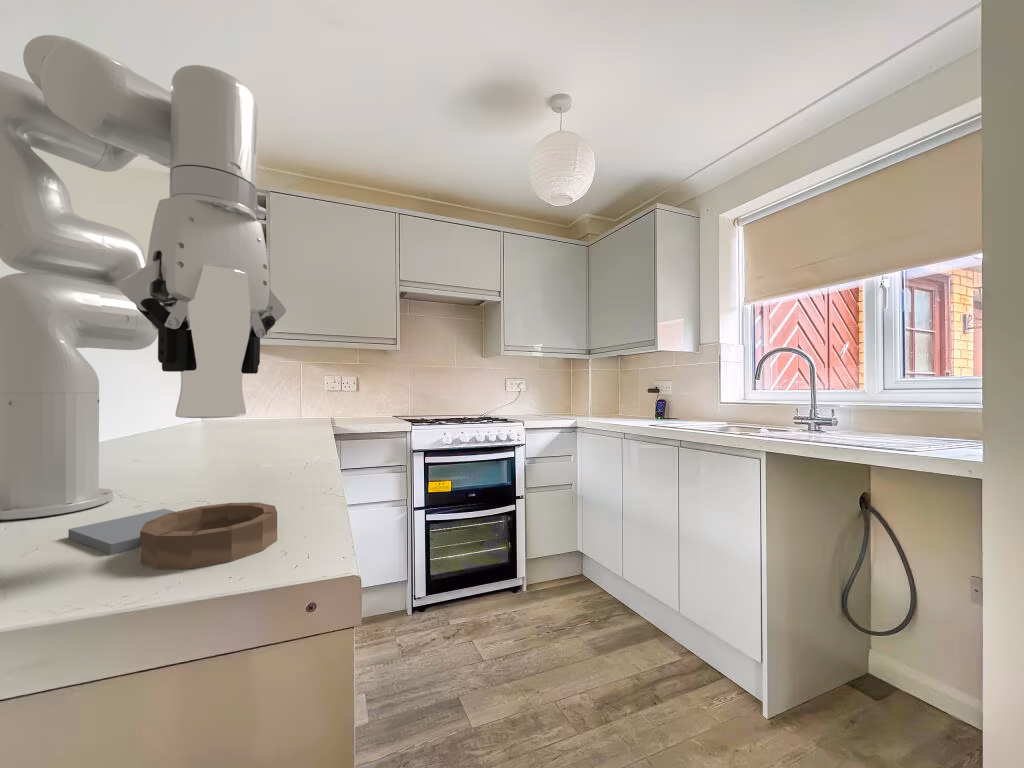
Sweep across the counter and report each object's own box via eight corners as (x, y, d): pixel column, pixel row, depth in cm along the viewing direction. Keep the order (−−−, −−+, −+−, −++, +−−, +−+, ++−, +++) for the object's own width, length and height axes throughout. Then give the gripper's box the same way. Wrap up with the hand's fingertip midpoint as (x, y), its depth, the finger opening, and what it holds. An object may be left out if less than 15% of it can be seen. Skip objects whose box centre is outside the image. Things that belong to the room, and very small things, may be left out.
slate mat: (68, 538, 48) (68, 529, 48) (164, 516, 56) (164, 508, 56) (111, 554, 43) (111, 544, 43) (209, 528, 51) (209, 519, 51)
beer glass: (211, 419, 42) (213, 261, 42) (151, 417, 43) (153, 264, 43) (265, 414, 49) (267, 279, 49) (212, 412, 50) (214, 281, 50)
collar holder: (118, 554, 43) (119, 524, 43) (236, 522, 53) (236, 498, 53) (181, 578, 38) (181, 543, 38) (299, 538, 48) (299, 510, 48)
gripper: (270, 232, 55) (268, 374, 55) (90, 172, 40) (87, 369, 40) (311, 222, 52) (308, 374, 52) (130, 153, 37) (127, 369, 37)
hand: (212, 370), depth 46 cm, fingers closed on beer glass, 6 cm apart
